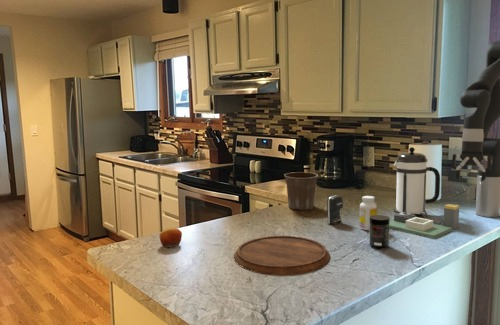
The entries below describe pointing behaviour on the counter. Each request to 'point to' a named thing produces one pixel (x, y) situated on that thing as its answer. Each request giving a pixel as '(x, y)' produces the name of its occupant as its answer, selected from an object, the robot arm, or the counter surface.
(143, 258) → the counter surface
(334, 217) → the battery charger
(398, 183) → the coffee press
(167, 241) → the fruit
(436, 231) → the header board
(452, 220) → the plug
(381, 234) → the supplement container
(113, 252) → the counter surface
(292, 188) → the plant pot
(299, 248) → the cutting board
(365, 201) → the supplement bottle
